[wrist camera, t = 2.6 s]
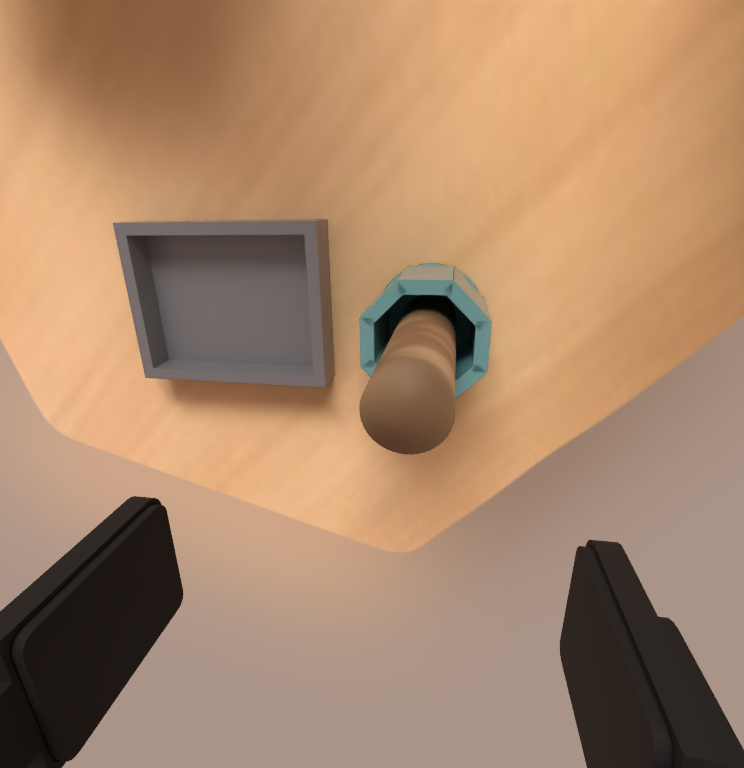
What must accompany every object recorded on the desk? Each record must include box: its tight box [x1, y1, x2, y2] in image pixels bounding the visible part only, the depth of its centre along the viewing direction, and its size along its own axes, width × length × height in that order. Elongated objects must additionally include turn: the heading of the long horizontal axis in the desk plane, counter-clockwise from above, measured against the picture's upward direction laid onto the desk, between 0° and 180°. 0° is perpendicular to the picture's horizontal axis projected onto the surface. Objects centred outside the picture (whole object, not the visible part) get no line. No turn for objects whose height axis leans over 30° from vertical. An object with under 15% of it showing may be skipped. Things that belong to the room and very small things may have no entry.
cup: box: [360, 263, 492, 399], centre depth 28 cm, size 7×7×6 cm
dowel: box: [360, 295, 456, 454], centre depth 24 cm, size 4×4×15 cm
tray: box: [113, 220, 335, 387], centre depth 32 cm, size 14×11×3 cm
